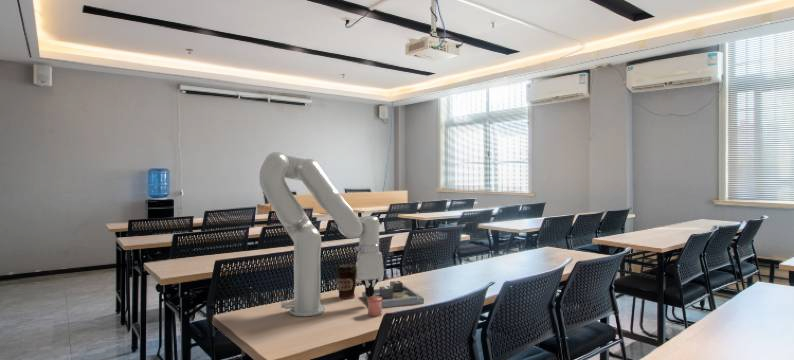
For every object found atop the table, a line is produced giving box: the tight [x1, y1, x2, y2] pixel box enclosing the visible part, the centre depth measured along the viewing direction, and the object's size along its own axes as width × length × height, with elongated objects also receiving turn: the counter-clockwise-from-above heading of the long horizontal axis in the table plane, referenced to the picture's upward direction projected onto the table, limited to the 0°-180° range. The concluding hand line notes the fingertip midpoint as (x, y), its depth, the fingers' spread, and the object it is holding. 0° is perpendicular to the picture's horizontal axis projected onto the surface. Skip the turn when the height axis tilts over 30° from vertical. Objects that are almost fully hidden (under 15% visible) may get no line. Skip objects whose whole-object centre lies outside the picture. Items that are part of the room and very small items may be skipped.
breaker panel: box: [361, 280, 425, 309], centre depth 178 cm, size 20×17×6 cm
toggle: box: [378, 285, 393, 300], centre depth 173 cm, size 4×4×4 cm
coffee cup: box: [336, 264, 357, 300], centre depth 182 cm, size 9×8×13 cm
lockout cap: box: [367, 296, 382, 318], centre depth 160 cm, size 5×5×6 cm
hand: (369, 296), depth 171 cm, fingers closed
